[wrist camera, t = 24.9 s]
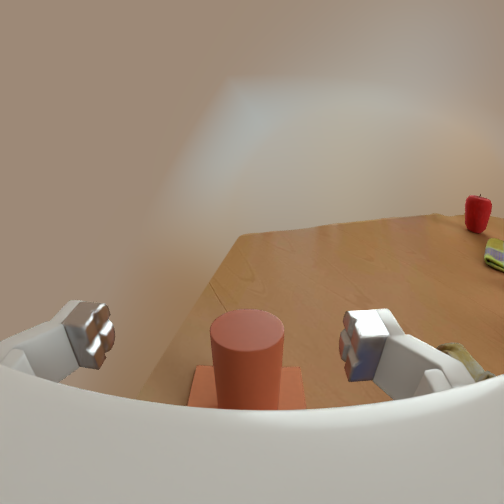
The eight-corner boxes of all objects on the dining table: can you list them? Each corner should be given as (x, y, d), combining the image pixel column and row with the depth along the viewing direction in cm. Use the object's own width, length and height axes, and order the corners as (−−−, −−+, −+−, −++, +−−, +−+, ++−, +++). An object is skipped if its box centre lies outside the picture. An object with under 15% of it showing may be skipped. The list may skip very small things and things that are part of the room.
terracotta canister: (215, 427, 25) (204, 350, 21) (221, 384, 31) (214, 307, 27) (279, 428, 25) (287, 351, 21) (276, 385, 31) (281, 308, 27)
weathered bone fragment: (424, 345, 32) (484, 421, 17) (458, 326, 31) (525, 390, 17) (429, 374, 33) (479, 449, 18) (461, 355, 32) (518, 421, 18)
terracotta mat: (178, 450, 23) (177, 448, 22) (197, 367, 34) (196, 365, 34) (311, 454, 22) (312, 452, 22) (299, 369, 34) (300, 366, 33)
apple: (487, 231, 86) (493, 195, 81) (486, 237, 79) (493, 198, 74) (463, 224, 93) (468, 189, 88) (459, 230, 86) (465, 191, 81)
